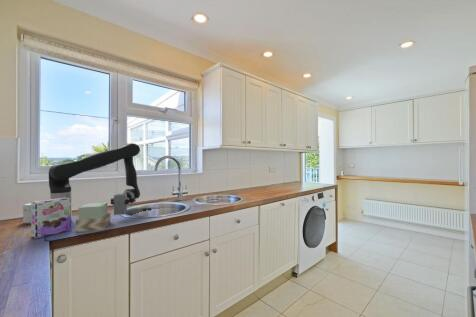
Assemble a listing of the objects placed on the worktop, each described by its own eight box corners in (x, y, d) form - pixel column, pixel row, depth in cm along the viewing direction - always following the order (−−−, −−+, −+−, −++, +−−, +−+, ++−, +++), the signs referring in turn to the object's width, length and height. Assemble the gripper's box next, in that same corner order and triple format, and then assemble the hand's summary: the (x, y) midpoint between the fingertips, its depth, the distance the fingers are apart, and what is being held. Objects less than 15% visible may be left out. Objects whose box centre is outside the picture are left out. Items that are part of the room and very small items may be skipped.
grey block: (113, 214, 124) (114, 195, 124) (116, 212, 129) (116, 193, 129) (124, 214, 125) (124, 195, 125) (126, 212, 131) (126, 193, 131)
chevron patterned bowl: (75, 232, 108) (75, 220, 108) (86, 225, 120) (85, 214, 120) (103, 230, 111) (102, 218, 111) (110, 223, 123) (110, 212, 123)
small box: (45, 220, 128) (45, 202, 128) (35, 223, 123) (35, 204, 123) (33, 220, 129) (32, 202, 129) (22, 223, 124) (22, 204, 124)
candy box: (35, 239, 99) (34, 202, 99) (30, 236, 102) (30, 201, 102) (71, 230, 111) (70, 197, 110) (66, 228, 114) (65, 196, 114)
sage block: (78, 219, 109) (78, 207, 109) (86, 214, 119) (86, 203, 119) (101, 218, 112) (101, 206, 112) (107, 213, 121) (107, 202, 121)
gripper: (114, 192, 139) (105, 196, 123) (138, 191, 143) (133, 195, 127) (114, 204, 139) (105, 210, 123) (138, 203, 143) (133, 208, 127)
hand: (119, 202), depth 125 cm, fingers closed on grey block, 5 cm apart
